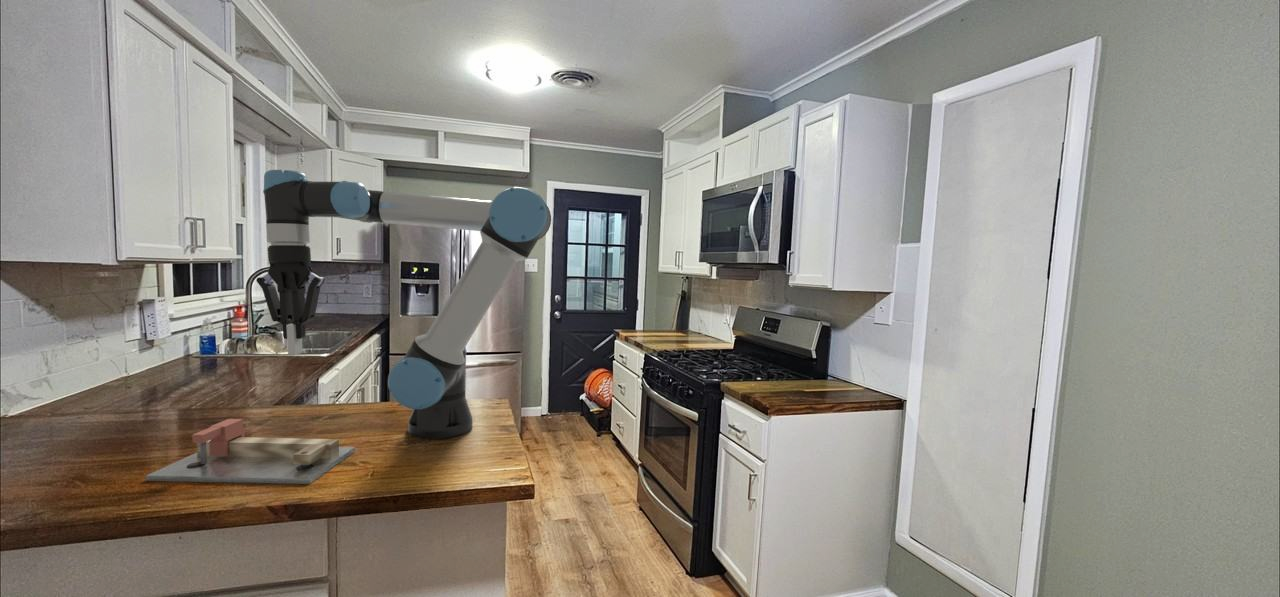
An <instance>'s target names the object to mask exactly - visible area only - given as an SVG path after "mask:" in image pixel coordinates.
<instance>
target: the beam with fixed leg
mask: <svg viewBox="0 0 1280 597" xmlns="http://www.w3.org/2000/svg"><path fill="white" fill-rule="evenodd" d="M209 441H211V440H209ZM209 441H207V442H206V451H207V456H210V446H209ZM339 447H340V439H338V438H335V439H333V438H295V437H294V438H293V437H292V438H290V437H288V438H287V437H257V436H256V437H254V436H253V437H252V436H251V437H250V436H246V437H236V438H233V439H231V440H229V441H228V455H226V456H230V457H277V458H294V464H297V465H301V468H307V467H308V465H310V464H311V463H313V462H314V461H316V460H317V459H319V458H324V459H331V458H333V457H334V456H336V455H337V454H338V453H339ZM196 451H197V452H196V453H197V456H201V454H200V443H196Z"/></svg>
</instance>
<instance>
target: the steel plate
mask: <svg viewBox="0 0 1280 597" xmlns="http://www.w3.org/2000/svg"><path fill="white" fill-rule="evenodd" d="M355 452H356V447H355V446H339V453H338V454H337V455H336V456H334V457H333V458H331V459H324V458H319V459H317V460H316V461H314V462H313V463H311V464H310V465H308V467H307V468H301V465H297V464H294V458H277V457H230V456H207V463H206V464H201V456H197V452H194V453H193V454H190V455H188V456H186V457H184V458H182V459H179V460H178V461H174V462H173V463H171V464H169V465H166V466H164V467H162V468H160V469H157V470H156V471H153V472H151V473H148V474H147V475H145V480H146V481H147V482H148V481H149V482H155V481H156V482H186V483H188V482H193V483H195V482H196V483H236V484H238V483H239V484H240V483H241V484H243V483H244V484H247V483H248V484H289V485H290V484H292V485H293V484H294V485H298V484H299V485H301V484H302V485H310V484H312V483H313V482H315V481H316V480H317V479H319V478H320V477H322V476H323V475H325V473H327V472H329V471H330V470H331V469H333V468H334V467H336V466H337V465H338V464H340V463H341V462H342V461H344V460H345V459H347V458H348V457H349V456H350V455H352V454H354V453H355Z"/></svg>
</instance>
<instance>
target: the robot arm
mask: <svg viewBox="0 0 1280 597" xmlns="http://www.w3.org/2000/svg"><path fill="white" fill-rule="evenodd" d="M262 194H263V195H264V196H263V197H264V205H265V206H264V208H265V216H266V217H265V221H266V224H265V228H266V242H267V243H269V244H270V245H268V247H267V259H268V263H269V268H268V270H267V273H266V274H265V275H263V276H262V277H261V276H260V277H257V278H256V283H257V284H258V285H259V286H260V288H261V289H262V290H261V291H262V293H263V295H264V299H265V302H266V304H267V305H266V306H267V309H268V311H269V315H270V318H271V321H273V322H277V323H280V324H282V336H283V337H282V338H284V340H287V341H286V342H287V354H288V356H290V355H291V356H293V355H294V356H295V355H299V354H302V353H304V350H303V339H304V338H306V336H307V334H306V323H307V322H309V321H313V320H315V317H316V311H317V306H318V302H319V295H320V292H321V287H322V286H323V284H324V282H325V281H326V278H325V277H324V276H319V275H317V274H316V273H314V270H313V268H312V266H311V263H312V262H311V261H312V258H311V257H312V255H311V247H310V246H309V245H308V244H310V242H311V241H310V222H309V221H310V218H316V217H317V218H339V219H347V220H354V221H359V222H362V223H370V224H371V223H372V224H373V223H378V224H380V223H381V224H382V223H383V224H392V225H393V224H394V225H405V226H418V227H429V228H442V229H452V230H453V229H454V230H466V231H476V232H479V233H480V237H481V243H480V245H479V247H478V248H477V250H476V251H475V252H474V254H473V256H472V258H471V259H470V261H469V263H468V265H467V266H466V267H465V269H464V271H463V273H462V275H461V276H460V278H459V280H458V281H457V283H456V284H455V286H454V288H453V290H452V291H451V293H450V295H449V296H448V298H447V300H446V301H445V303H444V305H443V306H442V307H441V310H440V311H439V313H438V314H437V315H436V318H435V319H434V321H433V323H432V324H431V326H430V328H429V329H428V331H427V332H426V333H424V334H420V335H417V336H416V337H415V339H414V340H413V342H412V343H411V345H410V346H409V349H408V350H407V351H406V353H405V355H404V357H403V358H402V359H401V360H399V361H397V362H396V363H395V364H394V365H393V367H392V368H391V369H390V371H389V373H388V376H387V387H388V390H389V393H390V396H392V398H393V400H394V401H395V402H397V403H398V405H400V406H402V407H404V408H406V409H411V410H412V411H411V415H410V416H409V420H408V426H407V427H408V428H407V430H408V431H407V433H408V434H409V436H411V437H414V438H417V439H424V440H441V439H449V438H453V437H458V436H461V435H464V434H466V433H468V432H469V431H471V430H472V429H473V416H472V413H471V410H470V407H469V404H468V400H467V398H466V397H467V396H466V390H467V389H466V386H467V385H466V384H467V383H466V382H467V379H466V377H467V376H466V375H467V370H466V369H467V368H466V366H467V363H466V362H467V353H468V352H467V348H466V346H467V345H468V344H469V342H470V340H471V338H472V337H473V335H474V334H475V331H476V330H477V328H478V327H479V325H480V323H481V322H482V320H483V319H484V316H485V315H486V314H487V312H488V310H489V309H490V307H491V305H492V304H493V302H494V300H495V299H496V297H497V296H498V294H499V292H500V290H501V289H502V287H503V286H504V283H505V282H506V281H507V279H508V277H509V276H510V274H511V272H512V270H513V269H514V268H515V266H516V264H517V263H518V262H520V261H524V260H527V259H528V258H529V256H530V254H531V252H532V251H533V250H534V248H535V246H536V244H537V243H538V241H539V240H541V239H543V238H544V237H545V236H546V235H547V233H548V232H549V230H550V227H551V224H552V214H551V211H550V209H549V208H550V207H549V206H548V204H547V203H546V202H545V201H544V199H543V197H541V195H539V194H537V192H535V191H534V190H531V189H529V188H525V187H522V186H521V187H519V186H514V187H509V188H507V189H504V190H502V191H501V192H499V193H498V194H497V195H496V196H495V197H494V198H493V200H484V199H481V200H480V199H473V198H472V199H471V198H462V197H461V198H460V197H448V196H440V195H439V196H438V195H427V194H426V195H425V194H415V193H407V192H406V193H405V192H404V193H403V192H393V191H383V190H373V189H372V190H371V189H367V188H366V187H365V185H364V184H363V183H361V182H359V181H358V182H357V181H348V180H341V181H313V180H310V181H309V180H308V179H307V176H306V174H305V173H304V172H301V171H297V170H289V169H288V170H287V169H285V170H284V169H270V170H268V171H266V172H265V173H264V175H263V190H262ZM309 217H310V218H309ZM274 283H275V284H276V285H277V288H276V286H275V284H274ZM307 283H308V284H309V285H308V288H307V290H306V284H307ZM306 291H307V292H306ZM305 292H306V294H305ZM305 295H306V296H305Z"/></svg>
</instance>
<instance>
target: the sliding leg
mask: <svg viewBox="0 0 1280 597" xmlns="http://www.w3.org/2000/svg"><path fill="white" fill-rule="evenodd" d="M245 434H246V433H245V432H244V419H243V418H240V419H239V418H227V419H225V420H223V421H220V422H217V423H215V424H211V425H210V426H209V427H208V428H206V429H203V430H201V431H198V432H195V433H193V434H192V443H194V444H197V443H200V454H201V464H206V463H207V451H206V442H207V441H209V440H211V441H209V446H210V456H226V455H228V441H229V440H231V439H233V438H236V437H245Z"/></svg>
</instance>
